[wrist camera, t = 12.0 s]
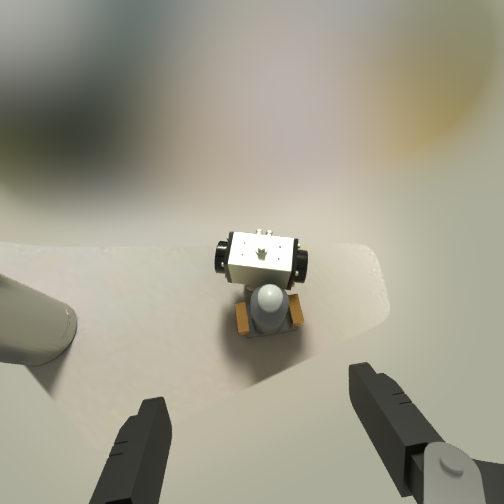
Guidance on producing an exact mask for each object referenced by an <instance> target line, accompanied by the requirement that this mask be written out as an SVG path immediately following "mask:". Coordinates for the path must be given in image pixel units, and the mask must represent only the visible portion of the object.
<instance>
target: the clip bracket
mask: <svg viewBox="0 0 504 504" xmlns="http://www.w3.org/2000/svg"><path fill="white" fill-rule="evenodd" d="M288 298H289V307H288V310H287V313H286V316H285V319H284V321H283V324H282V326H281V328H280V329H279V330H278V331H277V332H275V333H273V334H276V333H282V332H288V331H294V330H296V329H297V326H302V324H303V323H304V319H303V315H302V310H301V306H300V302H299V298H298V294H293V295H288ZM235 309H236V317H237V325H238V333H239V336H242V335H245V338H251V337H257V336H264V335H270V334H263V333H261V332H259V331H258V330H257V329H256V328H255V327H254V325H253V322H252V314H251V304H249V305H246V303H245V302H242V303H235Z"/></svg>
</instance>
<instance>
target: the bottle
mask: <svg viewBox="0 0 504 504" xmlns="http://www.w3.org/2000/svg"><path fill="white" fill-rule="evenodd" d="M250 303H251V314H252V322H253V325H254V327H255V328H256V329H257V330H258V331H259V332H261V333H263V334H273V333H275V332H277V331H278V330H279V329H280V328H281V326H282V324H283V321H284V319H285V316H286V313H287V310H288V307H289V298H288V295H287V293H286V292H285V290H284V289H283V288H281V287H280V286H278V285H276V284H271V283H268V284H263V285H261V286H259V287H257V288H256V289H255V290H254V292H253V293H252V296H251V301H250Z"/></svg>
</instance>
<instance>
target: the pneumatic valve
mask: <svg viewBox="0 0 504 504" xmlns="http://www.w3.org/2000/svg"><path fill="white" fill-rule="evenodd" d="M272 234H273V233H272V231H267V232H266V235H262V230H257V231H256V234H247V233H238V232H230V233H229V236H228V237H227V240H228V242H225V241H220V242H219V243H218V245H217V249H216V254H215V271H216V273H222V274H226V275H225V278H227V280H228V282H230V283H238V284H245V285H249V286H248V287H247V290H249V291H252V292H254V290H255V289H256V288H257V287H259V286H261V285H263V284H268V283H271V284H276V285H278V286H280V287H281V288H283V289H286V290H291V287H294V283H293V282H296V283H304V282H305V278H306V273H307V265H308V252H307V251H306V250H298V248H300V244H298V239H294V238H285V237H275V236H272Z"/></svg>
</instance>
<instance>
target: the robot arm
mask: <svg viewBox="0 0 504 504" xmlns="http://www.w3.org/2000/svg"><path fill="white" fill-rule="evenodd" d="M76 327H77V319H76V314H75V312H74V310H73V309H72V308H71V307H70V306H68V305H67V304H65V303H63V302H61V301H58V300H56V299H54V298H52V297H50V296H48V295H46V294H43V293H41V292H39V291H37V290H35V289H32V288H30V287H28V286H26V285H24V284H21V283H19V282H17V281H15V280H13V279H10V278H8V277H6V276H4V275H2V274H0V362H4V363H12V364H21V365H31V366H35V365H41V364H44V363H47V362H49V361H51V360H53V359H55V358H56V357H57V356H58V355H60V354H61V353H62V352H63V351H64V350H65V349H66V348H67V347H68V345H69V344H70V342H71V341H72V339H73V337H74V334H75V331H76ZM349 395H350V400H351V403H352V406H353V408H354V410H355V412H356V414H357V415H358V417H359V419H360V421H361V423H362V424H363V426H364V428H365V430H366V432H367V434H368V436H369V438H370V439H371V441H372V443H373V445H374V447H375V449H376V450H377V452H378V454H379V456H380V458H381V460H382V462H383V463H384V465H385V467H386V469H387V471H388V472H389V474H390V476H391V478H392V480H393V482H394V484H395V486H396V487H397V489H398V491H399V493H400V495H401V497H407V496H412V495H413V497H414V499H415V500H416V502H417V504H504V464H498V463H492V462H485V461H479V460H475V459H472V458H470V457H469V456H468V455H467V454H466V453H465V452H463V451H462V450H461V449H459V448H457V447H455V446H453V445H451V444H448V443H445V441H444V440H443V439H442V438H441V437H440V435H439V434H438V433H437V432H436V430H435V429H434V428H433V427H432V426H431V424H430V423H429V422H428V421H427V420H426V418H425V417H424V416H423V414H422V413H421V412H420V411H419V410H418V408H417V407H416V406H415V405H414V404H413V403H412V401H411V400H410V399H409V397H408V396H407V395H406V394H405V393H404V391H403V390H402V389H401V387H400V386H399V385H398V384H397V383H396V381H394V380H393V379H391V378H390V377H389V376H387V375H386V374H384V373H379V374H376V372H375V371H374V370H373V368H372V367H371V366H370V365H369V364H368V363H367V362H364V363H358V364H353V365H350V366H349ZM171 439H172V425H171V421H170V417H169V414H168V410H167V407H166V403H165V400H164V398H163V397H156V398H151V399H145V400H143V402H142V404H141V406H140V409H139V412H138V415H135V416H130V417H129V418H128V420H127V421H126V422H125V423H124V425H123V426H122V427H121V429H120V430H119V433H118V435H117V437H116V440H115V442H114V446H113V447H112V449H111V452H110V454H109V458H108V459H107V461H106V464H105V466H104V469H103V471H102V474H101V476H100V478H99V481H98V484H97V486H96V488H95V490H94V493H93V495H92V498H91V500H90V502H89V504H158V503H159V498H160V493H161V488H162V483H163V479H164V474H165V469H166V464H167V459H168V455H169V449H170V445H171Z"/></svg>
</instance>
